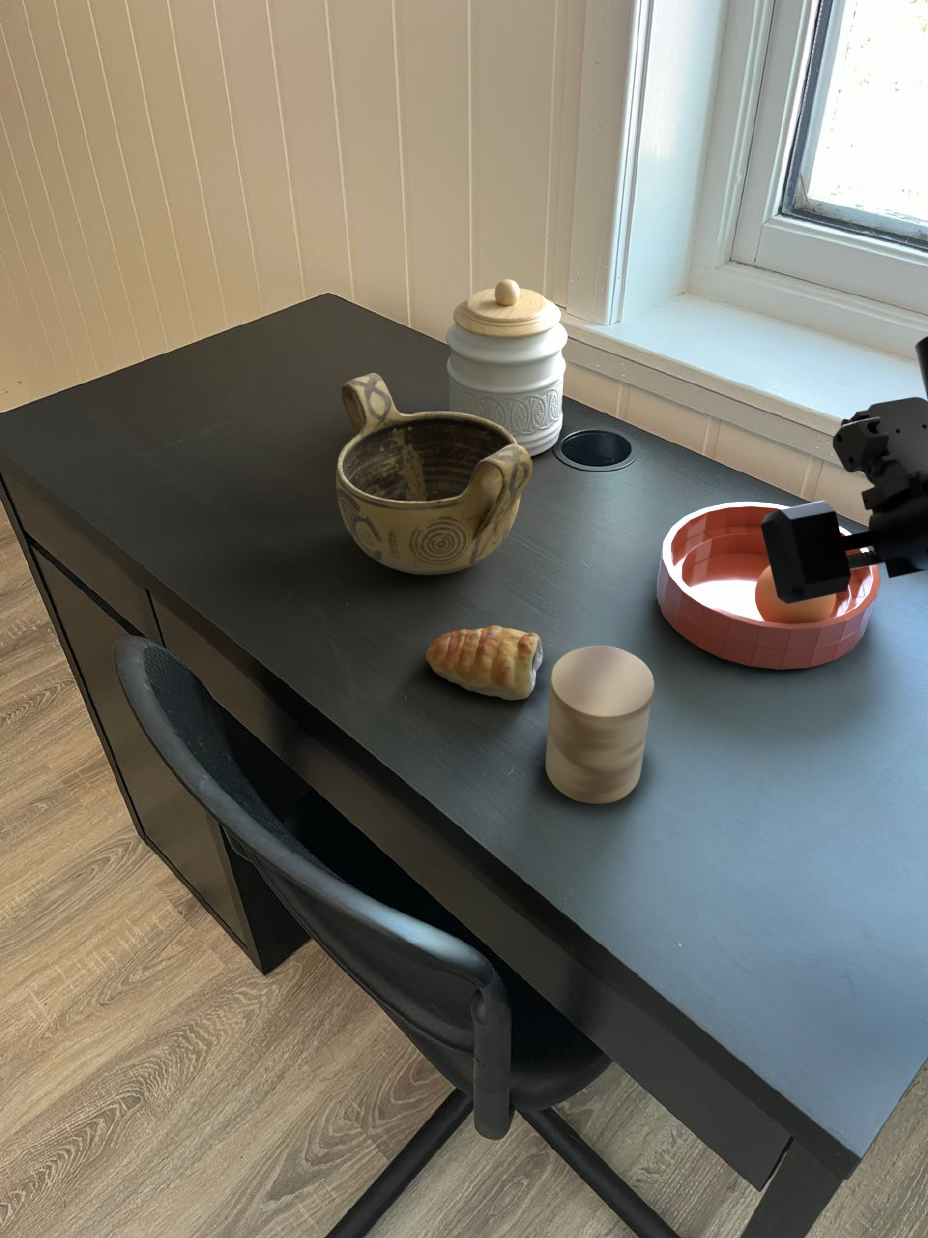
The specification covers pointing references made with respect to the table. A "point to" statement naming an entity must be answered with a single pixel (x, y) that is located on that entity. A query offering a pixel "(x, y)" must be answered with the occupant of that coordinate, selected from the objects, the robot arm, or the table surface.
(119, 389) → the table surface
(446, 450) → the ceramic bowl
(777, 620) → the peach
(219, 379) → the table surface
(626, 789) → the wooden cylinder
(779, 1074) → the table surface
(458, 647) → the pastry
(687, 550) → the bowl
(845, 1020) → the table surface
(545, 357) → the jar
